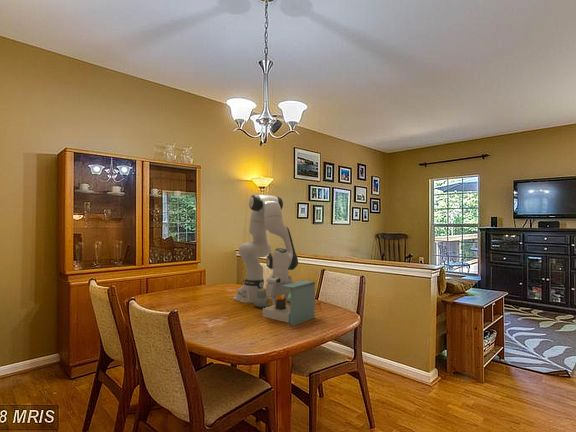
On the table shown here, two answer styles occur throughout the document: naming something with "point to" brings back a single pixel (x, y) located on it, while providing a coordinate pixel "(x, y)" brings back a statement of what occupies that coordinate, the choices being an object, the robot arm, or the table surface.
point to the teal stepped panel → (301, 301)
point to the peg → (281, 304)
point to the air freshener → (261, 299)
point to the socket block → (277, 313)
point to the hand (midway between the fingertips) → (279, 302)
